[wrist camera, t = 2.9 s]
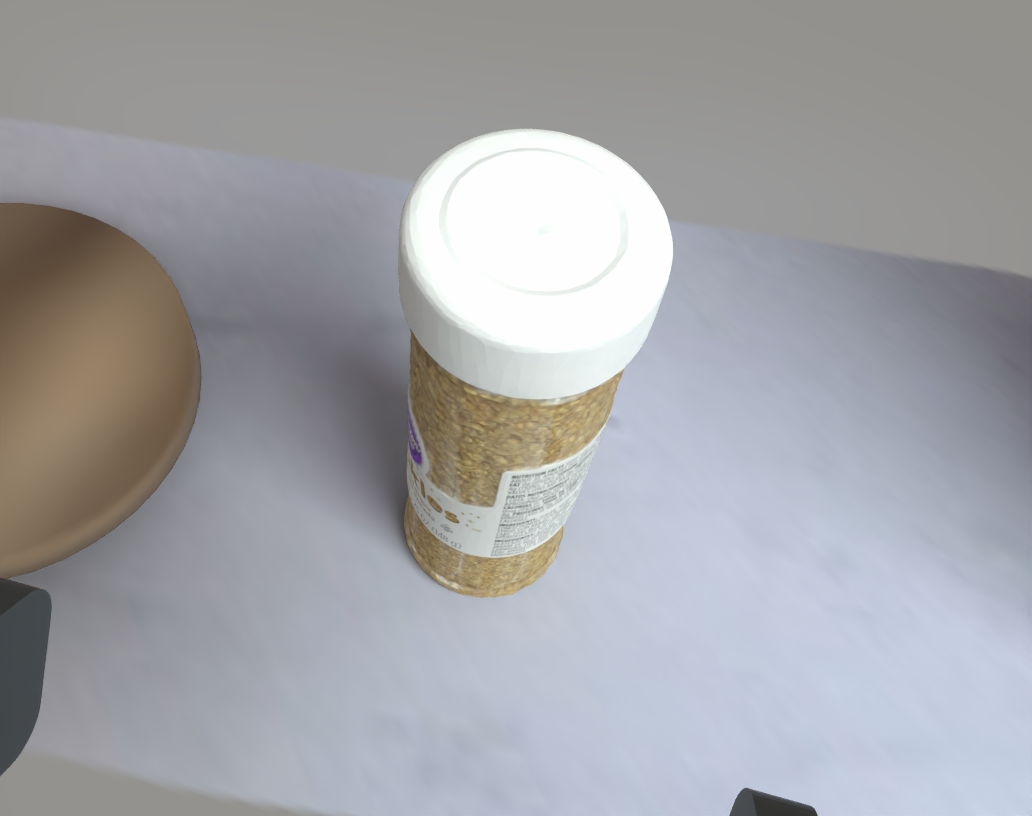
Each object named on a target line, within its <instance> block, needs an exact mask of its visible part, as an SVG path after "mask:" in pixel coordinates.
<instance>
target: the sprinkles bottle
mask: <svg viewBox="0 0 1032 816" xmlns="http://www.w3.org/2000/svg"><path fill="white" fill-rule="evenodd" d="M672 259H673V240H672V235H671V231H670V226H669V222H668V219H667V216H666V213H665V210H664V208H663V207H662V205H661V203H660V201H659V199H658V197H657V196H656V194H655V193H654V191H653V190H652V189H651V187H650V186H649V184H648V183H647V182H646V181H645V180H644V179H643V178H642V177H641V176H640V174H639V173H637V172H636V171H635V170H634V169H633V168H632V167H631V166H630V165H629V164H628V163H626V162H625V161H624V160H622V159H620V158H619V157H617V156H616V155H615V154H613V153H611V152H610V151H608V150H607V149H605V148H603V147H601V146H599V145H597V144H594V143H592V142H590V141H587V140H585V139H583V138H580V137H576V136H572V135H569V134H565V133H561V132H556V131H549V130H541V129H510V130H502V131H496V132H491V133H487V134H483V135H481V136H477V137H475V138H472V139H469V140H467V141H464V142H462V143H460V144H458V145H456V146H454V147H453V148H451V149H449V150H447V151H446V152H445V153H443V154H442V155H441V156H439V157H438V158H436V159H435V160H434V161H433V162H432V163H431V164H430V165H429V166H428V167H427V168H426V169H425V170H424V171H423V172H422V173H421V175H420V177H419V178H418V179H417V181H416V182H415V184H414V185H413V187H412V189H411V191H410V193H409V195H408V197H407V199H406V201H405V204H404V207H403V211H402V216H401V221H400V229H399V257H398V274H399V292H400V300H401V305H402V308H403V311H404V315H405V318H406V321H407V323H408V325H409V326H410V330H411V340H410V341H411V353H410V364H411V369H410V379H409V385H408V448H407V485H408V490H409V495H408V498H407V502H406V506H405V514H404V528H405V533H406V538H407V544H408V546H409V548H410V550H411V552H412V554H413V556H414V558H415V559H416V561H417V563H418V564H419V565H420V567H421V568H422V569H423V570H424V571H425V572H427V573H428V574H429V575H430V576H431V577H432V578H433V579H434V580H435V581H437V582H438V583H439V584H440V585H441V586H443V587H446V588H448V589H450V590H453V591H455V592H457V593H459V594H462V595H470V596H476V597H497V596H506V595H512V594H514V593H515V592H517V591H519V590H520V589H522V588H524V587H527V586H529V585H530V584H532V583H533V582H534V581H536V580H537V579H538V578H539V577H540V576H542V575H543V574H544V573H545V572H546V570H547V569H548V567H549V566H550V565H551V564H552V562H553V561H554V559H555V557H556V555H557V552H558V548H559V545H560V542H561V539H562V535H563V525H564V523H565V521H566V520H567V518H568V517H569V515H570V514H571V511H572V509H573V507H574V505H575V502H576V500H577V497H578V495H579V492H580V489H581V487H582V484H583V481H584V479H585V476H586V474H587V471H588V469H589V466H590V464H591V461H592V459H593V456H594V453H595V451H596V448H597V446H598V444H599V441H600V439H601V436H602V434H603V431H604V429H605V426H606V424H607V421H608V419H609V416H610V413H611V409H612V405H613V402H614V396H615V392H616V390H617V386H618V383H619V381H620V379H621V376H622V374H623V370H624V368H625V367H626V366H627V365H628V363H629V362H630V361H631V360H632V359H633V357H634V356H635V355H636V353H637V352H638V351H639V349H640V348H641V347H642V345H643V343H644V342H645V340H646V338H647V336H648V333H649V331H650V329H651V326H652V324H653V321H654V319H655V316H656V314H657V311H658V308H659V305H660V303H661V300H662V297H663V294H664V291H665V289H666V286H667V283H668V279H669V275H670V271H671V265H672Z"/></svg>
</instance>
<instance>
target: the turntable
mask: <svg viewBox="0 0 1032 816" xmlns="http://www.w3.org/2000/svg"><path fill="white" fill-rule="evenodd" d="M200 388H201V366H200V355H199V351H198V347H197V343H196V338H195V335H194V332H193V330H192V327H191V324H190V322H189V319H188V316H187V314H186V311H185V308H184V306H183V303H182V301H181V299H180V296H179V294H178V291H177V289H176V287H175V286H174V284H173V282H172V281H171V279H170V277H169V276H168V274H167V273H166V271H165V270H164V269H163V267H162V266H161V265H160V264H159V263H158V262H157V261H156V259H155V258H154V257H153V256H152V255H151V254H150V253H149V252H148V251H147V250H145V249H144V248H143V247H142V246H141V245H140V244H138V243H137V242H136V241H135V240H133V239H132V238H130V237H129V236H127V235H126V234H124V233H122V232H121V231H119V230H118V229H116V228H114V227H112V226H110V225H108V224H106V223H104V222H101V221H99V220H97V219H95V218H92V217H89V216H86V215H83V214H80V213H77V212H74V211H70V210H65V209H60V208H55V207H51V206H43V205H34V204H24V203H0V578H4V579H8V578H11V577H15V576H18V575H22V574H26V573H29V572H33V571H36V570H38V569H41V568H43V567H46V566H48V565H51V564H53V563H56V562H58V561H61V560H63V559H65V558H67V557H69V556H71V555H73V554H75V553H76V552H78V551H80V550H82V549H84V548H86V547H88V546H90V545H91V544H93V543H94V542H96V541H97V540H99V539H100V538H102V537H103V536H105V535H106V534H108V533H109V532H111V531H112V530H114V529H115V528H116V527H117V526H119V525H120V524H121V523H122V522H123V521H125V520H126V519H127V518H128V517H129V516H130V515H132V514H133V513H134V512H135V511H136V510H137V509H138V508H139V507H140V506H141V505H142V504H143V503H144V502H145V501H146V500H147V499H148V498H149V497H150V496H151V495H152V494H153V493H154V492H155V490H156V489H157V488H158V487H159V485H160V484H161V483H162V481H163V480H164V479H165V477H166V476H167V475H168V473H169V472H170V470H171V469H172V468H173V466H174V464H175V462H176V461H177V459H178V457H179V455H180V454H181V452H182V450H183V448H184V446H185V444H186V442H187V439H188V437H189V434H190V432H191V429H192V427H193V424H194V421H195V417H196V413H197V408H198V404H199V400H200Z"/></svg>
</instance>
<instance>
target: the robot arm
mask: <svg viewBox="0 0 1032 816" xmlns="http://www.w3.org/2000/svg"><path fill="white" fill-rule="evenodd" d="M51 607H52V606H51V598H50V595H49V594H48V592H47V591H46V590H43V589H40V588H36V587H33V586H29V585H25V584H22V583H18V582H15V581H11V580H7V579H4V578H0V776H1V775H2V774H3V773H4V772H5V771H6V769H7V768H9V767H10V765H11V764H12V763H13V762H14V761H15V760H16V758H17V757H18V756H19V754H20V753H21V751H22V750H23V748H24V747H25V745H26V743H27V741H28V739H29V737H30V735H31V733H32V731H33V728H34V726H35V723H36V720H37V717H38V713H39V709H40V703H41V695H42V686H43V678H44V669H45V661H46V652H47V644H48V635H49V627H50V619H51ZM729 816H818V815H817V813H816V811H815V809H814V808H813V807H812V806H809V805H806V804H802V803H799V802H795V801H791V800H788V799H784V798H781V797H777V796H773V795H770V794H766V793H763V792H759V791H756V790H752V789H748V788H744V789H743V790H742V791H741V792H740V793H739V794H738V796H737V798H736V800H735V802H734V805H733V807H732V810H731V813H730V815H729Z"/></svg>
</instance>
